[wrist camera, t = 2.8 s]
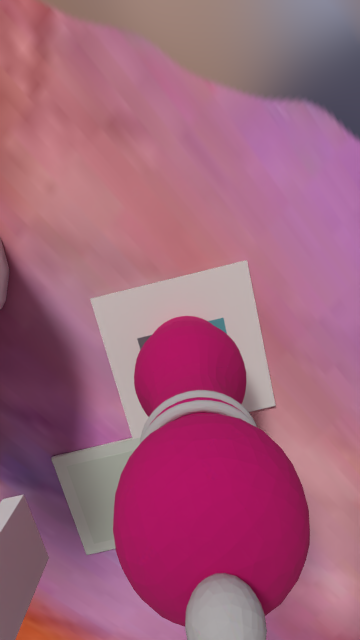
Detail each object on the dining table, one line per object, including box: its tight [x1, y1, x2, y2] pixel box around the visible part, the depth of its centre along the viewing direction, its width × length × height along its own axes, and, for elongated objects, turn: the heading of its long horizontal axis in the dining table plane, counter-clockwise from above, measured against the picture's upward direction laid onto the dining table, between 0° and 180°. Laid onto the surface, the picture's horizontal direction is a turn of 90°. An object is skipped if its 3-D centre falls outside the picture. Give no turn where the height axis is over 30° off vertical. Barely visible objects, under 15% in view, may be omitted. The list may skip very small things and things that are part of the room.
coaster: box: [51, 437, 141, 555], centre depth 29 cm, size 10×10×1 cm
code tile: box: [90, 260, 276, 439], centre depth 26 cm, size 12×12×1 cm
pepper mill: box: [113, 316, 310, 640], centre depth 16 cm, size 7×7×20 cm
